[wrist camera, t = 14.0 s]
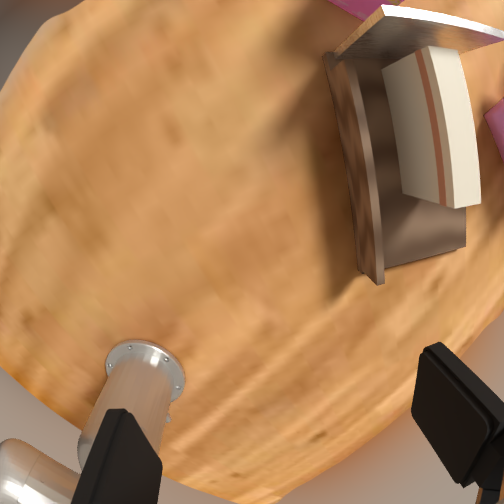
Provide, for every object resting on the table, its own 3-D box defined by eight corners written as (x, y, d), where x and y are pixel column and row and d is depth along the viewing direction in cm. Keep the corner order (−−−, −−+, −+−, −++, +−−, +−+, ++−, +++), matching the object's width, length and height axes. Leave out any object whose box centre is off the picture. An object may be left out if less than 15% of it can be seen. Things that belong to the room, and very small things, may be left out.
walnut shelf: (460, 243, 40) (486, 256, 33) (357, 270, 40) (377, 289, 34) (436, 58, 31) (463, 48, 25) (322, 55, 32) (338, 38, 25)
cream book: (427, 189, 36) (481, 203, 25) (402, 193, 36) (454, 209, 25) (407, 69, 31) (457, 49, 20) (380, 69, 31) (427, 45, 20)
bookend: (439, 61, 30) (506, 39, 17) (335, 59, 30) (385, 14, 17) (437, 55, 30) (503, 31, 17) (333, 52, 30) (381, 4, 17)
